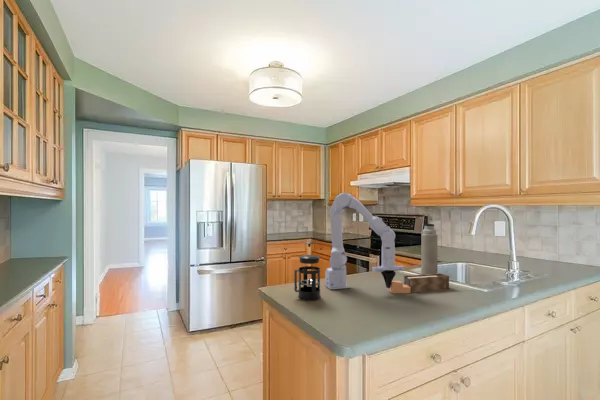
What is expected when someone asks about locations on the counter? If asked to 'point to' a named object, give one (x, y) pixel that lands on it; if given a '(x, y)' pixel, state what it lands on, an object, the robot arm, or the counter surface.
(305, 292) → the french press
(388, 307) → the counter surface
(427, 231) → the thermos bottle
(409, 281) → the sliding door
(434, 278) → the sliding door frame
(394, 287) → the peach two-level step
